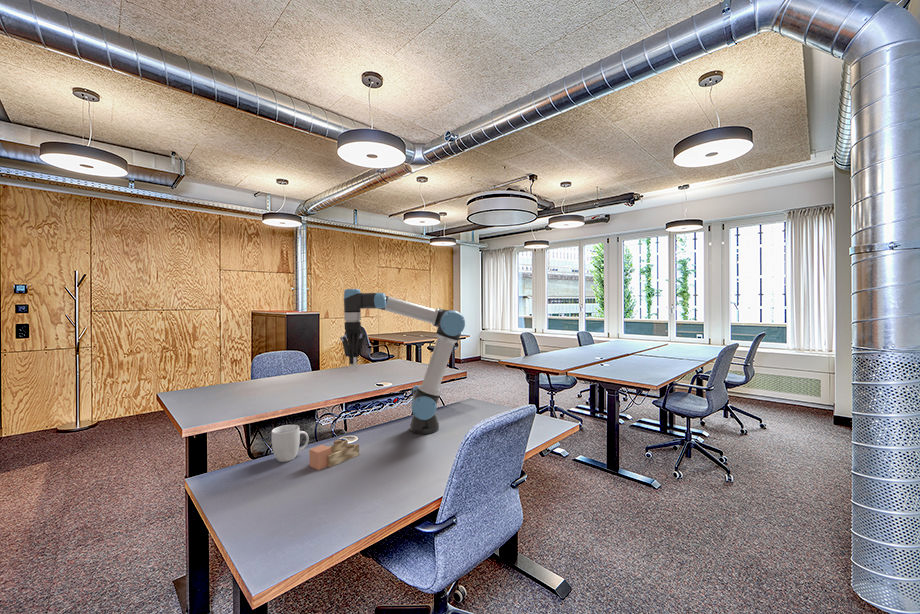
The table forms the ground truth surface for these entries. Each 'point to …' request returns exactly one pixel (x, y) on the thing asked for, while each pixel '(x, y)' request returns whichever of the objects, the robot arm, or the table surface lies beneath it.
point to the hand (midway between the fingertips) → (353, 370)
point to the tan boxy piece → (342, 452)
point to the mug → (287, 442)
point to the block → (319, 457)
